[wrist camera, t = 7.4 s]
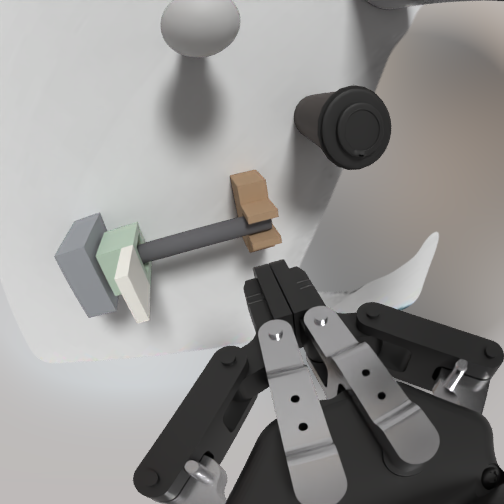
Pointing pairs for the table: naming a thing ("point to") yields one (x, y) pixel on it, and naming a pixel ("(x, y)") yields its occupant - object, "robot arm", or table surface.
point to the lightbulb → (200, 26)
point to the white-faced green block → (127, 268)
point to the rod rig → (165, 242)
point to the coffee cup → (346, 125)
